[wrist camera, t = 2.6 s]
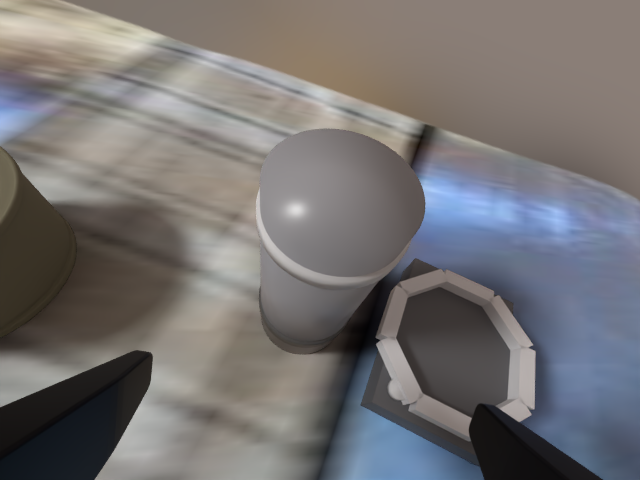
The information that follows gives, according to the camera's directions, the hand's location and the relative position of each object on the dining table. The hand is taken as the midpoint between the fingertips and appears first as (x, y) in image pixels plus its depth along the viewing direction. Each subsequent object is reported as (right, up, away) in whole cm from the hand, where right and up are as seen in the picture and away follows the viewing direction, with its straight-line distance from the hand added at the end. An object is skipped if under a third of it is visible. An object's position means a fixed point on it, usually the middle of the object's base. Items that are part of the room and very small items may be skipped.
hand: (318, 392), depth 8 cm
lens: (-1, -1, +14) cm, 14 cm away
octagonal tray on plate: (+9, -4, +14) cm, 17 cm away
